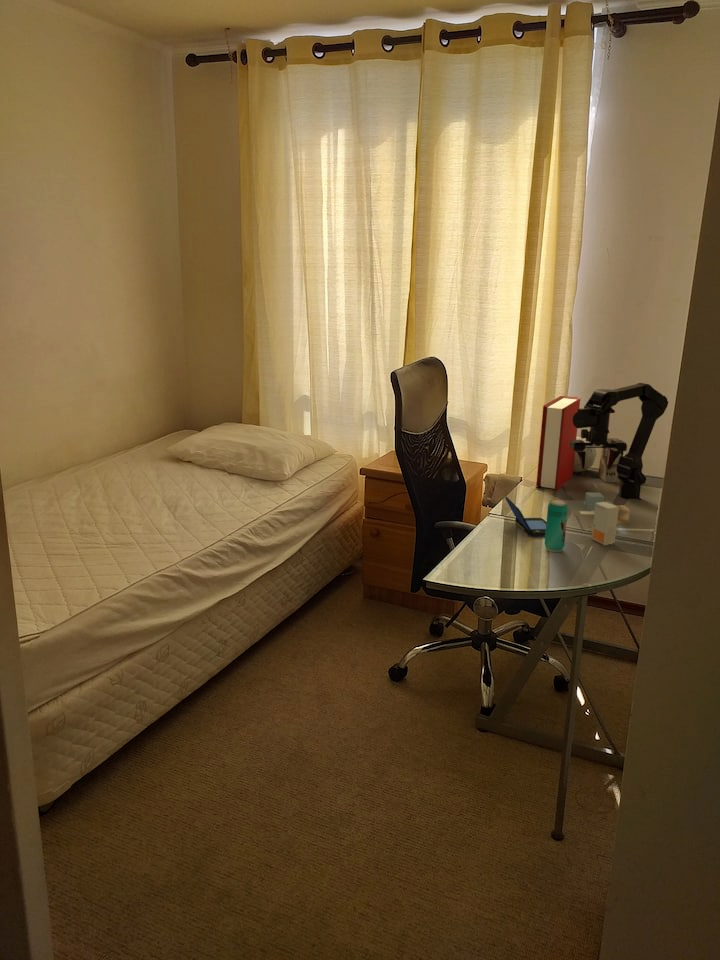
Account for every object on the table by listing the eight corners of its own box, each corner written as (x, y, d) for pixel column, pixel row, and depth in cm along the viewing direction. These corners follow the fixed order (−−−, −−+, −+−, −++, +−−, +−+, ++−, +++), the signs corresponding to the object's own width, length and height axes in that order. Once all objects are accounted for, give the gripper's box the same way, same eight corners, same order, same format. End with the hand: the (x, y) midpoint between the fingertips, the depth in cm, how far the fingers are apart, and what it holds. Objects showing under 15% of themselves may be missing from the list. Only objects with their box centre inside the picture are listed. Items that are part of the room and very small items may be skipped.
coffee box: (620, 482, 295) (625, 443, 291) (604, 482, 296) (608, 442, 291) (613, 476, 304) (617, 438, 300) (597, 476, 304) (601, 437, 300)
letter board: (610, 502, 269) (611, 501, 269) (627, 518, 252) (627, 517, 252) (561, 501, 269) (561, 499, 269) (573, 517, 252) (574, 515, 252)
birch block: (622, 521, 250) (624, 505, 248) (627, 526, 245) (629, 510, 243) (606, 520, 250) (607, 505, 248) (611, 526, 245) (612, 510, 243)
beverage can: (560, 554, 219) (565, 506, 215) (541, 550, 222) (545, 502, 217) (566, 548, 223) (571, 501, 219) (547, 544, 226) (552, 497, 222)
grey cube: (598, 506, 263) (599, 492, 261) (602, 510, 258) (604, 496, 257) (584, 505, 263) (585, 492, 262) (588, 510, 258) (589, 496, 257)
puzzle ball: (600, 475, 306) (604, 439, 302) (566, 476, 303) (570, 440, 299) (583, 466, 320) (586, 432, 316) (550, 467, 317) (553, 432, 313)
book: (556, 490, 283) (564, 407, 274) (536, 487, 286) (543, 405, 278) (573, 474, 306) (581, 397, 297) (554, 471, 310) (561, 395, 301)
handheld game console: (558, 537, 234) (560, 509, 231) (516, 538, 232) (518, 509, 230) (541, 521, 249) (543, 494, 246) (502, 521, 247) (504, 495, 245)
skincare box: (590, 539, 232) (594, 502, 229) (601, 537, 233) (605, 501, 230) (604, 545, 226) (608, 508, 223) (615, 544, 228) (619, 506, 225)
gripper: (618, 421, 268) (614, 463, 273) (567, 421, 268) (563, 462, 273) (629, 427, 258) (625, 471, 262) (576, 427, 258) (572, 471, 262)
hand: (595, 468), depth 265 cm, fingers open, 9 cm apart
